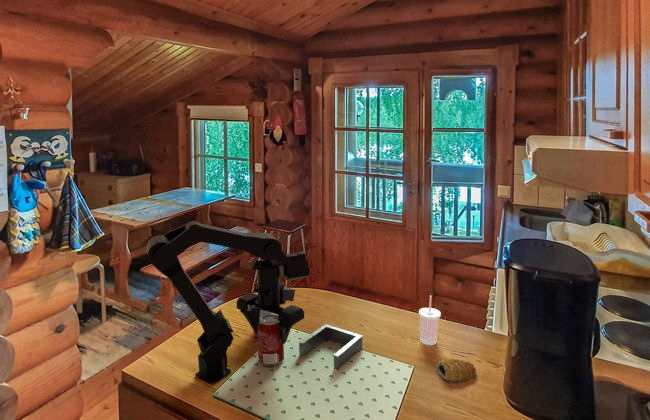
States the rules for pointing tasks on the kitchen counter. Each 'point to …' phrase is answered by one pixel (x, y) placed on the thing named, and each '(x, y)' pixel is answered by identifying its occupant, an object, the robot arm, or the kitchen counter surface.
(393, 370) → the kitchen counter surface
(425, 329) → the beverage cup
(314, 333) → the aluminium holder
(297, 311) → the robot arm
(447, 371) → the pastry
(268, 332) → the soda can
